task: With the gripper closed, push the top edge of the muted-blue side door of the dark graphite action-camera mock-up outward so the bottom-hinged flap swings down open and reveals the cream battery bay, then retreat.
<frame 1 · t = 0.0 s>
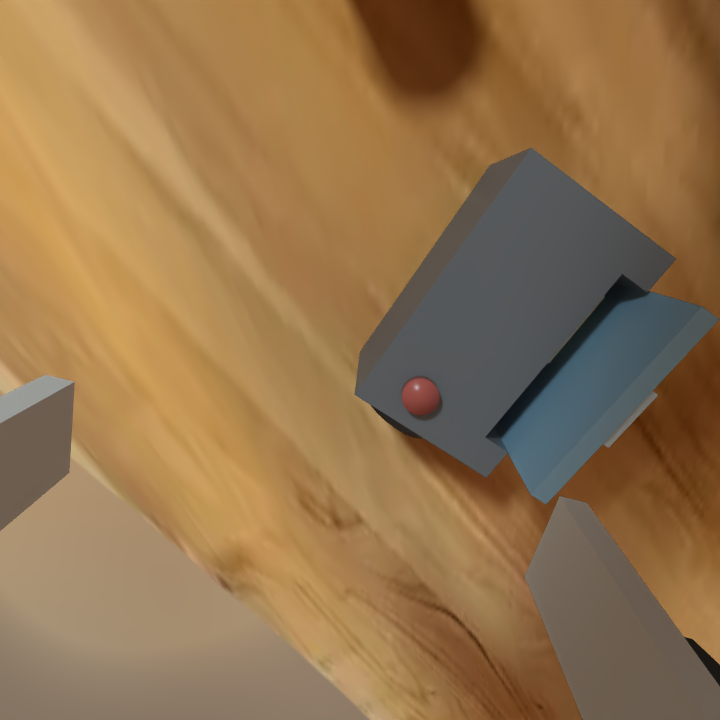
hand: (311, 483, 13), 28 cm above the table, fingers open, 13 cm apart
side door: (572, 374, 33), point 7 cm above the table, hinge at 0.0°
camera body: (474, 301, 39), on the table
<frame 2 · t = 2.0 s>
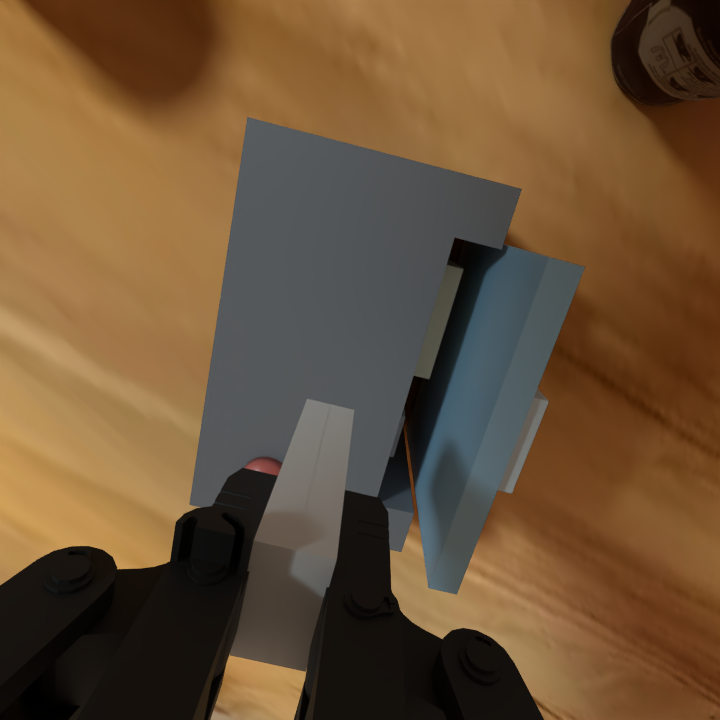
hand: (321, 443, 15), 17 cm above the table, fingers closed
side door: (469, 380, 24), point 7 cm above the table, hinge at 0.0°
camera body: (348, 316, 30), on the table
coffee cup: (665, 47, 25), on the table
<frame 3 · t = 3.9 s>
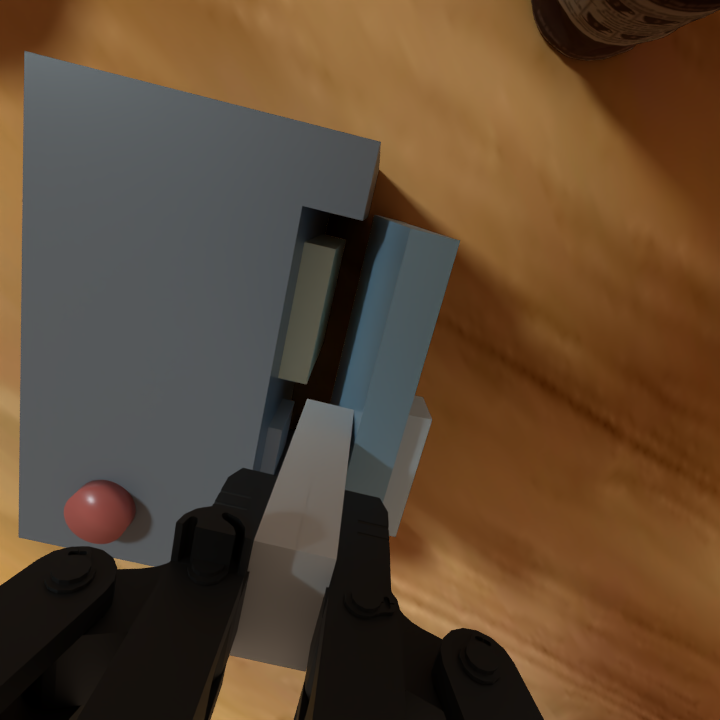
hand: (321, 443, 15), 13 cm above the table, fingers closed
side door: (368, 387, 20), point 7 cm above the table, hinge at 3.9°, touching gripper
camera body: (246, 312, 26), on the table
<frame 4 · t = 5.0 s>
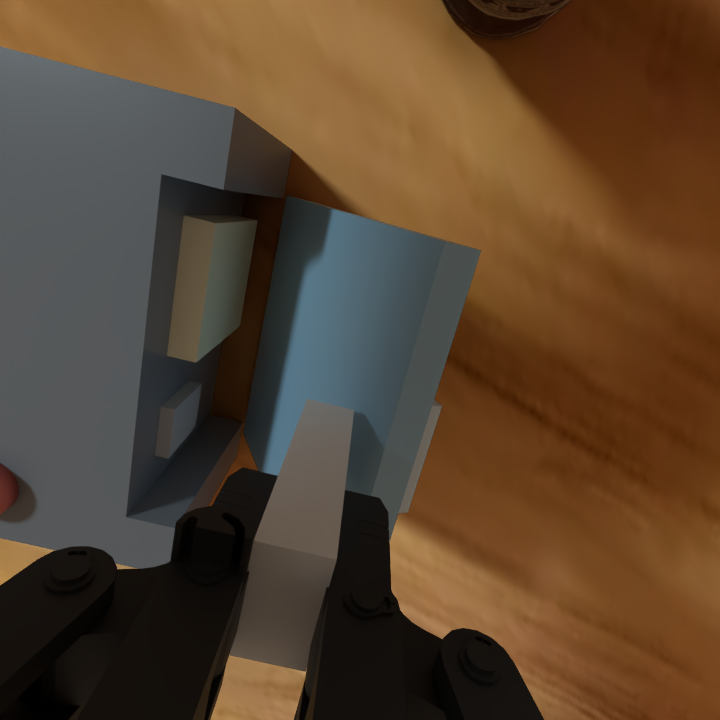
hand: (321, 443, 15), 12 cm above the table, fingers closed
side door: (324, 376, 20), point 7 cm above the table, hinge at 27.0°
camera body: (165, 295, 26), on the table
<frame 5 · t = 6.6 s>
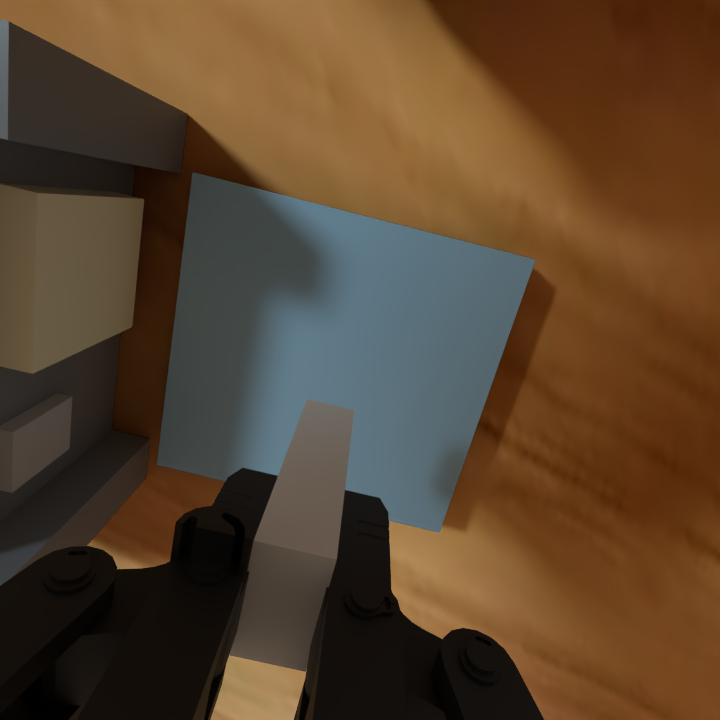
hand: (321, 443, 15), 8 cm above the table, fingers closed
side door: (329, 364, 22), point 1 cm above the table, hinge at 89.1°
camera body: (49, 290, 22), on the table
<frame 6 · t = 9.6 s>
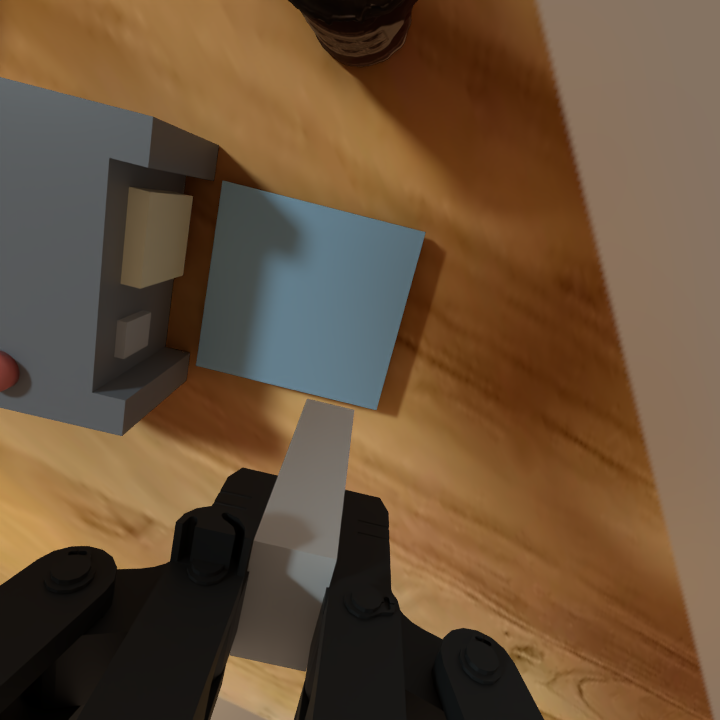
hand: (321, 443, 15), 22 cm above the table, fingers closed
side door: (305, 300, 35), point 1 cm above the table, hinge at 89.1°
camera body: (129, 253, 35), on the table
coffee cup: (361, 17, 30), on the table
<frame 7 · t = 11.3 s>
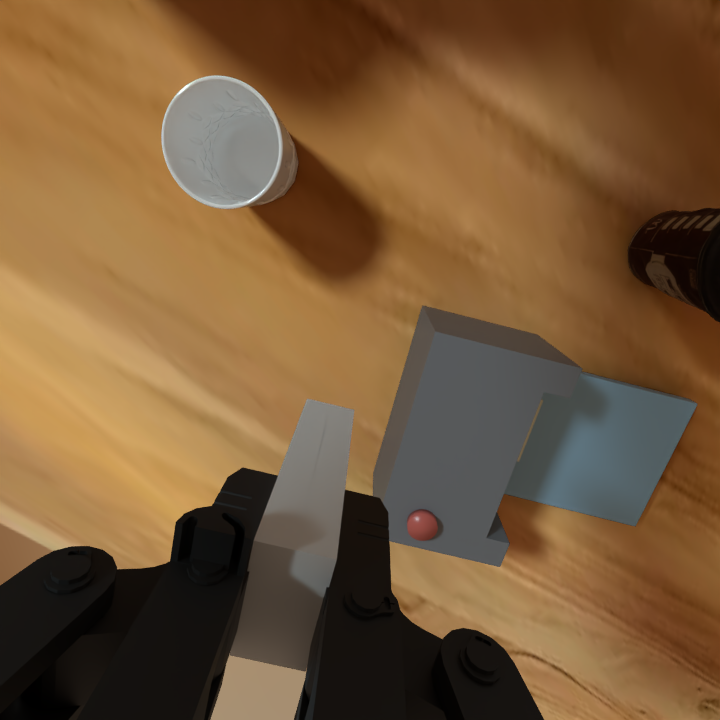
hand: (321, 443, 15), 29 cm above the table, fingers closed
white cup: (259, 161, 40), on the table
side door: (588, 444, 45), point 1 cm above the table, hinge at 89.1°
camera body: (450, 407, 46), on the table
coffee cup: (662, 251, 41), on the table
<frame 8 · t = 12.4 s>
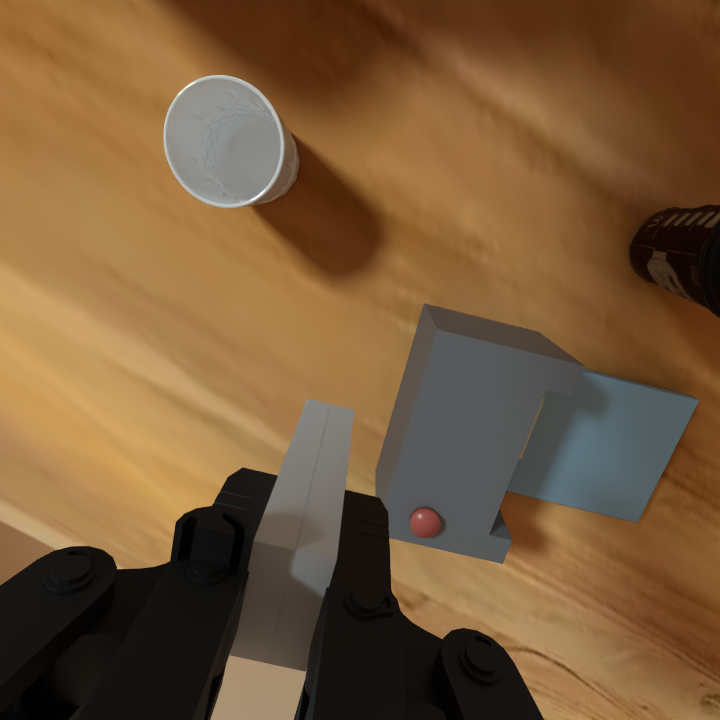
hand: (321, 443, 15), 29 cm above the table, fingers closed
white cup: (261, 160, 40), on the table
side door: (590, 441, 45), point 1 cm above the table, hinge at 89.1°
camera body: (452, 405, 46), on the table
coffee cup: (663, 248, 41), on the table
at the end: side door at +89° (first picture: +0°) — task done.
